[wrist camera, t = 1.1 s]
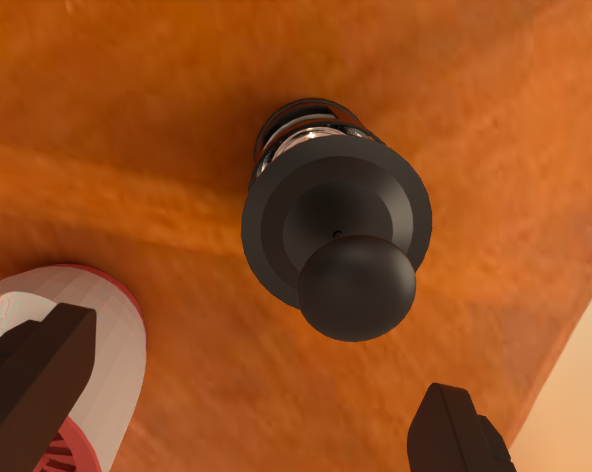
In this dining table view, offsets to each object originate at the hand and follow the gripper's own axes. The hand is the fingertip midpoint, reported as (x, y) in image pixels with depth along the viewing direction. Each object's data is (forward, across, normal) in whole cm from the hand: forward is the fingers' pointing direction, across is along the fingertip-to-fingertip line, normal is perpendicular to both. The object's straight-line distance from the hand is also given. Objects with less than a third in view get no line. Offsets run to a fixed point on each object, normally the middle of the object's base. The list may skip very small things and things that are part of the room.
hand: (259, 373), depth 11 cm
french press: (+28, -1, +3) cm, 28 cm away
